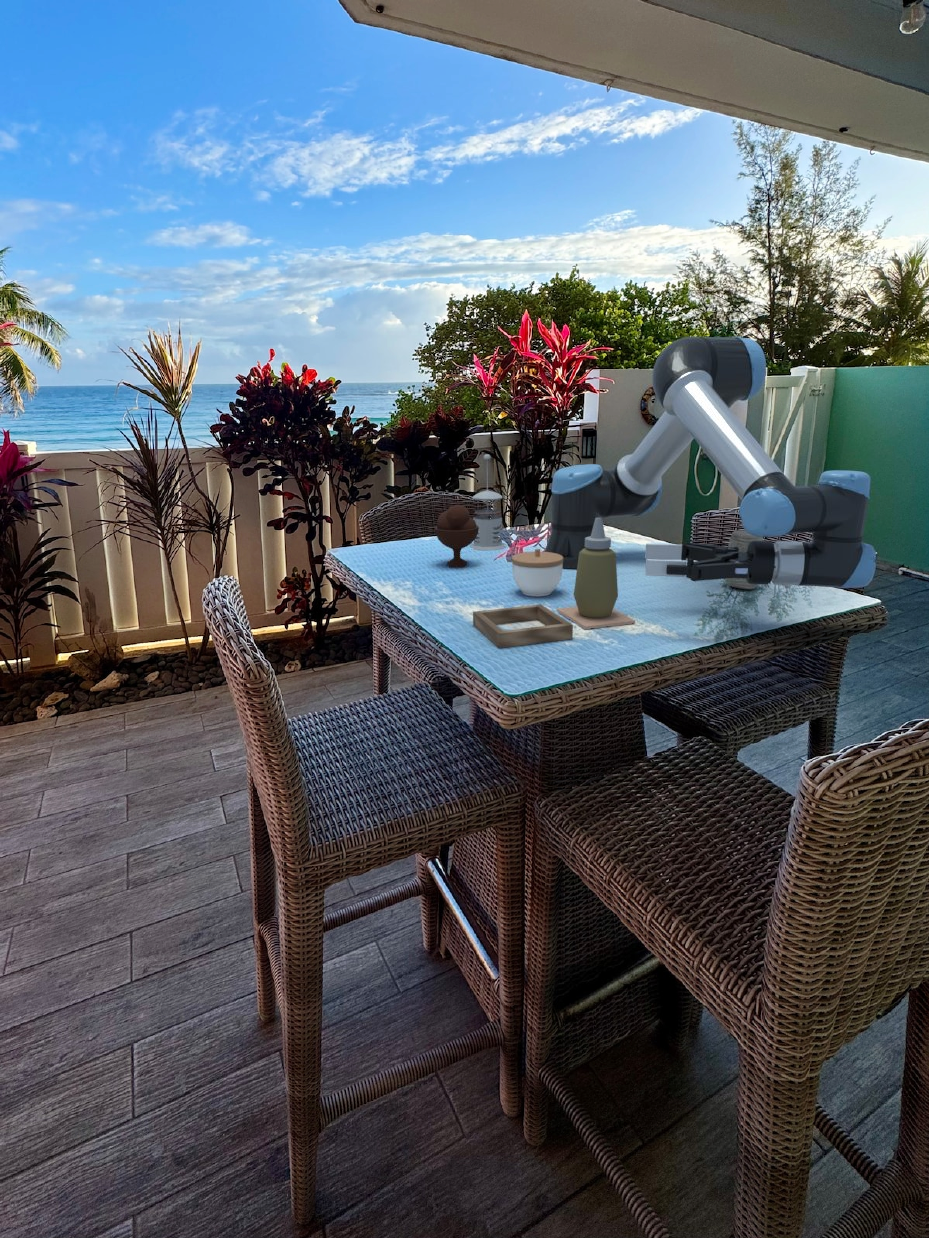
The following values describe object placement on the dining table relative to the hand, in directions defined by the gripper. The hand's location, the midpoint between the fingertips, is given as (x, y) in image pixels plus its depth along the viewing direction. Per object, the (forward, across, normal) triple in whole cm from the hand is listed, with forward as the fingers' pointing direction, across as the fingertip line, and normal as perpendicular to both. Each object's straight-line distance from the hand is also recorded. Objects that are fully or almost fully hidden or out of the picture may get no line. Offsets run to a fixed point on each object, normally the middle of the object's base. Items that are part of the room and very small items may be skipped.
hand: (645, 558), depth 128 cm
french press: (+41, +62, -12) cm, 75 cm away
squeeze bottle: (+8, 0, -11) cm, 14 cm away
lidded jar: (+22, +16, -12) cm, 29 cm away
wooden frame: (+21, -11, -12) cm, 26 cm away
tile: (+9, 0, -12) cm, 14 cm away
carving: (-21, +27, -12) cm, 36 cm away
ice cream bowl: (+44, +38, -12) cm, 60 cm away
